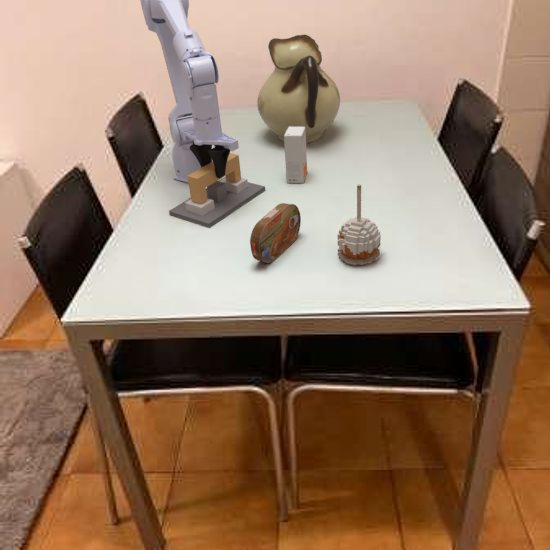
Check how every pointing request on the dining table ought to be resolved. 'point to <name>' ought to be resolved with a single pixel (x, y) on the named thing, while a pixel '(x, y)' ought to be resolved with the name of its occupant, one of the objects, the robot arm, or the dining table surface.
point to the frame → (212, 178)
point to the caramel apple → (359, 238)
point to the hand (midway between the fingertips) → (214, 174)
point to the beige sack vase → (298, 89)
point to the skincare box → (295, 154)
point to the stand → (218, 202)
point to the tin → (275, 232)
